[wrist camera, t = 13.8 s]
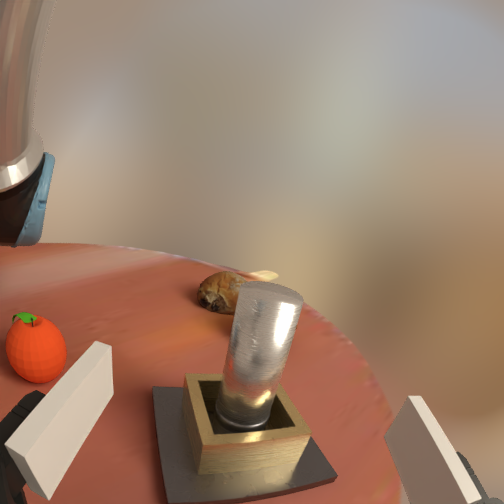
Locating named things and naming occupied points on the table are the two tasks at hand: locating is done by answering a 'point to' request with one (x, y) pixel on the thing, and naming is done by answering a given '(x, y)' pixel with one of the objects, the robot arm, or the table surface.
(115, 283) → the table surface
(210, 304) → the bread roll
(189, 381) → the gold square holder
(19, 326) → the clementine
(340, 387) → the table surface
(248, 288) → the silver metal tall cylinder
